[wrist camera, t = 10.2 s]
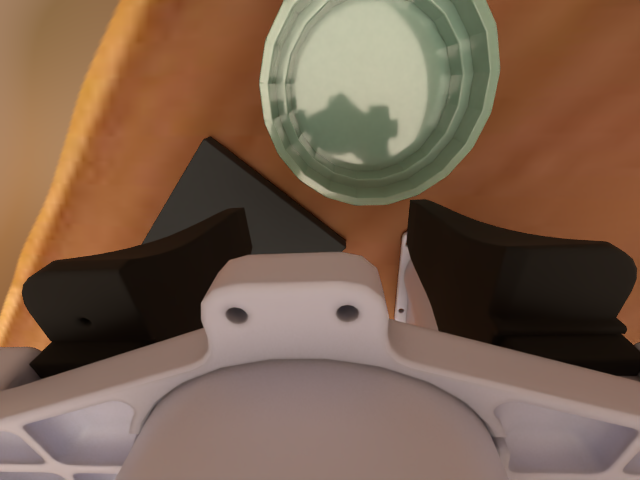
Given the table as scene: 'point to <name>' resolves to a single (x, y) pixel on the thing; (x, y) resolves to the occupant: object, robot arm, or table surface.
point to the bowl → (378, 92)
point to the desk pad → (241, 205)
